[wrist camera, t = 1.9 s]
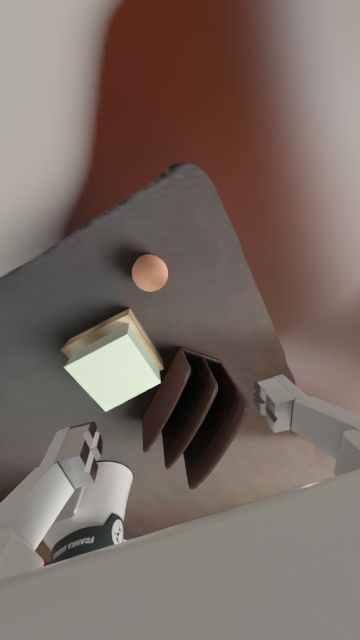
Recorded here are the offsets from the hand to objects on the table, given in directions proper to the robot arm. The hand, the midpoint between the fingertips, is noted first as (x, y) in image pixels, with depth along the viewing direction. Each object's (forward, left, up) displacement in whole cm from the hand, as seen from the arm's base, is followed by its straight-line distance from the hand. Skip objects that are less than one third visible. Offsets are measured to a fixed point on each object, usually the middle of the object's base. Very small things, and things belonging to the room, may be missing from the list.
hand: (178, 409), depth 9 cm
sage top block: (-10, -6, -21) cm, 25 cm away
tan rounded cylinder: (+1, +4, -25) cm, 25 cm away
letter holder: (-5, -21, -25) cm, 33 cm away
